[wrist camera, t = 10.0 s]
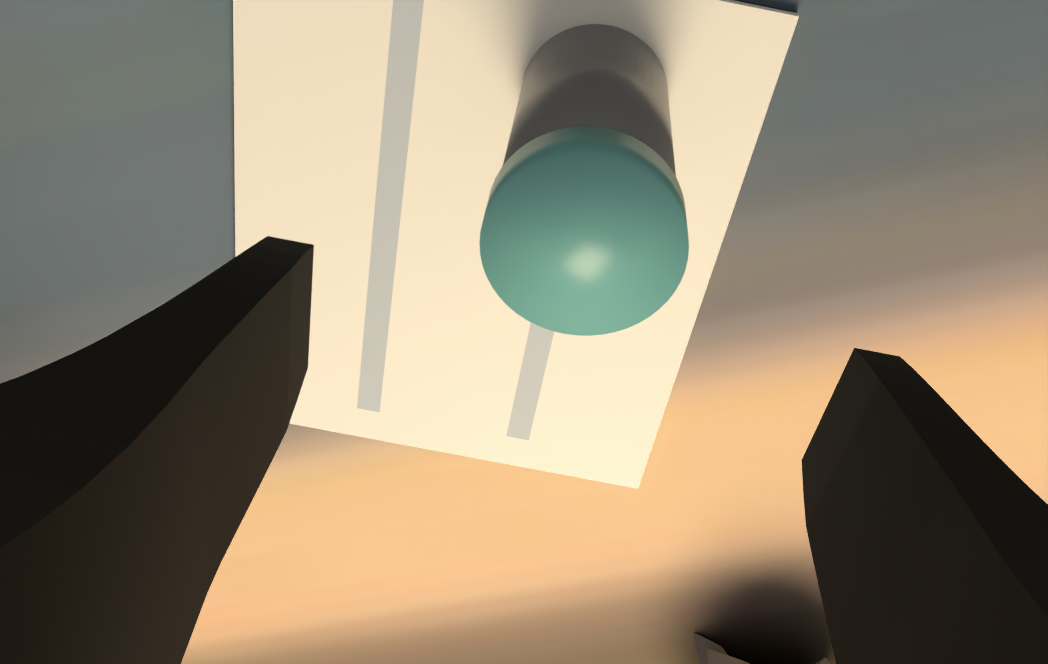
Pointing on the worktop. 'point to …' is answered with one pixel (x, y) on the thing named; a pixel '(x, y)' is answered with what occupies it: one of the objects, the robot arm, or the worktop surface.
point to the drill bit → (722, 653)
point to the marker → (588, 189)
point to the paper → (472, 213)
